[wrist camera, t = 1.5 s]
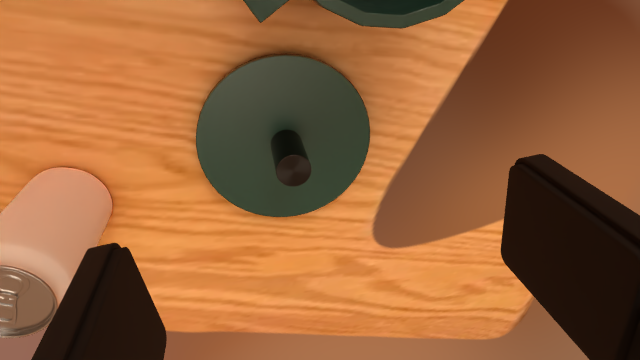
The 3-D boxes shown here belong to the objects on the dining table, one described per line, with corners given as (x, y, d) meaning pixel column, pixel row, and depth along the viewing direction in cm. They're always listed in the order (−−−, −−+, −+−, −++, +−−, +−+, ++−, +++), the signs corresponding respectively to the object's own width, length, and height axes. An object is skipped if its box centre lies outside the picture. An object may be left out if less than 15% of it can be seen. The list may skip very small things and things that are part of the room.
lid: (158, 127, 33) (143, 160, 28) (302, 12, 31) (316, 24, 26) (271, 236, 40) (277, 280, 35) (395, 148, 38) (421, 180, 33)
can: (122, 179, 35) (75, 275, 24) (103, 239, 37) (53, 351, 27) (35, 153, 32) (-58, 247, 22) (20, 219, 35) (-70, 332, 24)
